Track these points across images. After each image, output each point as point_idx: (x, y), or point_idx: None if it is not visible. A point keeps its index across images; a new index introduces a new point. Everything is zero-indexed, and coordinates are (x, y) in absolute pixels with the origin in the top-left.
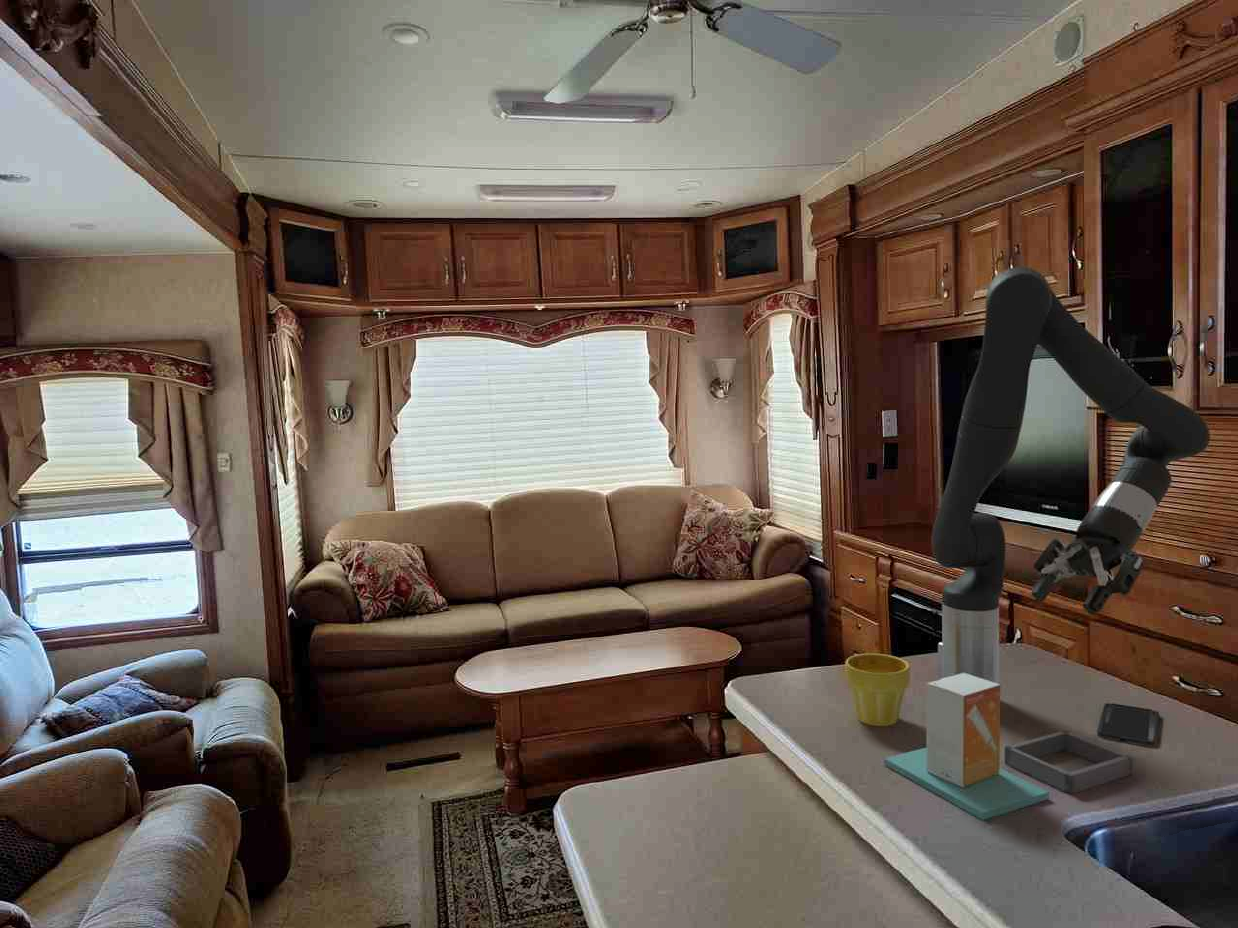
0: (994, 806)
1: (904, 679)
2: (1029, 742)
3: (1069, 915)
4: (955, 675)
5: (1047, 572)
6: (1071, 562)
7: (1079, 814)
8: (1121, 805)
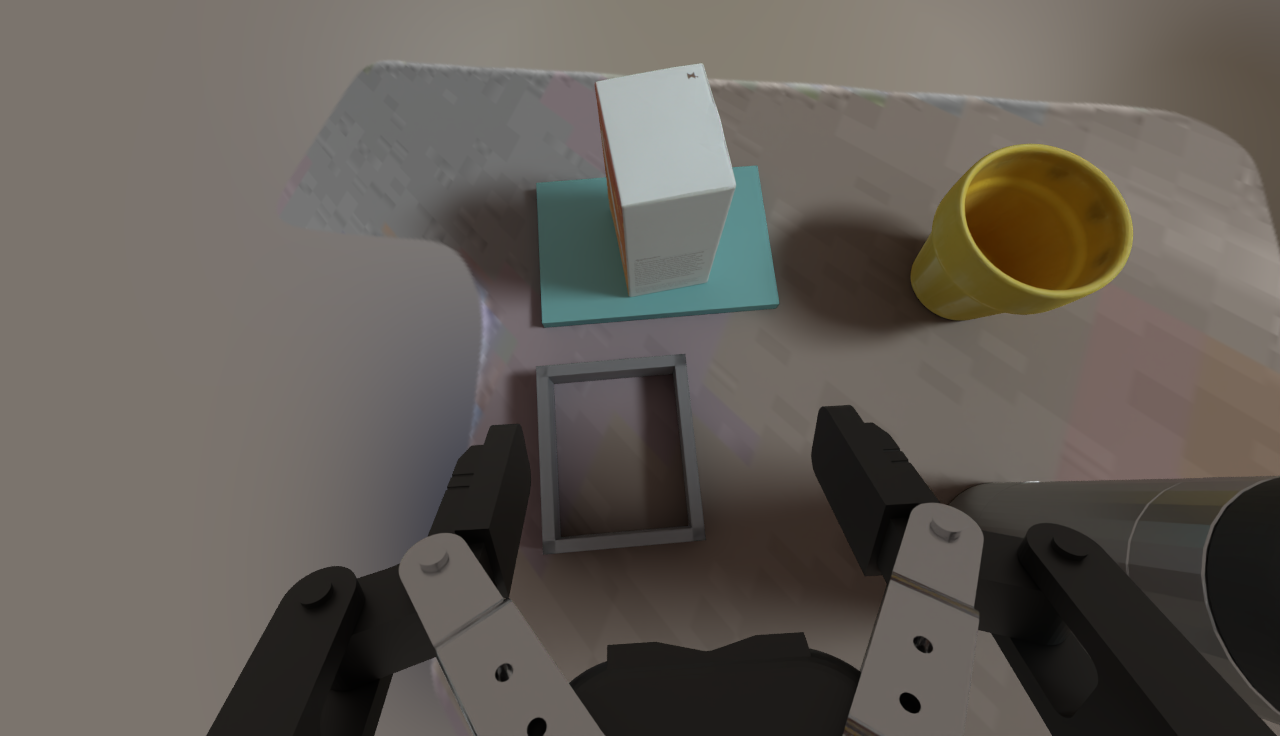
0: (543, 210)
1: (954, 256)
2: (682, 415)
3: (326, 130)
4: (725, 156)
5: (909, 519)
6: (821, 668)
7: (486, 332)
8: (475, 420)
